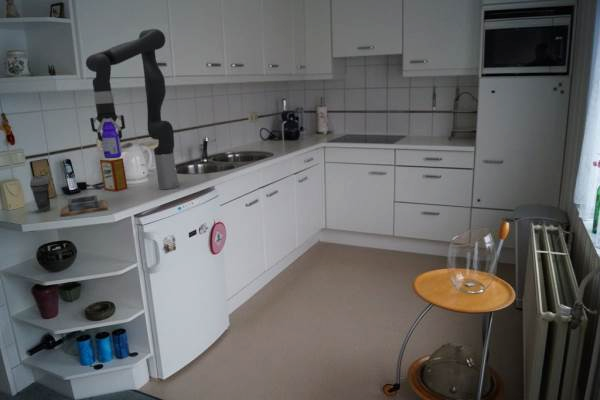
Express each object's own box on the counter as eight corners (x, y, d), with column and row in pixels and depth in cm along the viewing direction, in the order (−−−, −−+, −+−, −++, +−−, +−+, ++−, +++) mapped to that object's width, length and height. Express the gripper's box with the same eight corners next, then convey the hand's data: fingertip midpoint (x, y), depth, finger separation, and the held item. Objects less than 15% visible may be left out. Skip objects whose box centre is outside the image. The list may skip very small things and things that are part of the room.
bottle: (123, 156, 217) (117, 117, 212) (119, 158, 211) (113, 118, 207) (107, 157, 217) (101, 118, 212) (103, 159, 211) (96, 119, 207)
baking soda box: (104, 190, 244) (99, 159, 240) (115, 187, 249) (110, 156, 245) (116, 191, 239) (111, 159, 235) (127, 188, 244) (122, 157, 240)
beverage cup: (44, 208, 213) (35, 163, 208) (57, 208, 211) (49, 163, 206) (31, 212, 207) (21, 167, 202) (44, 213, 204) (35, 166, 199)
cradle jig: (105, 202, 217) (104, 193, 216) (107, 209, 203) (106, 200, 202) (62, 208, 211) (60, 199, 210) (60, 216, 196) (58, 207, 195)
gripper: (121, 100, 214) (126, 137, 218) (86, 103, 209) (93, 141, 213) (122, 101, 207) (128, 139, 211) (86, 103, 202) (93, 142, 206)
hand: (110, 140), depth 212 cm, fingers closed on bottle, 7 cm apart
